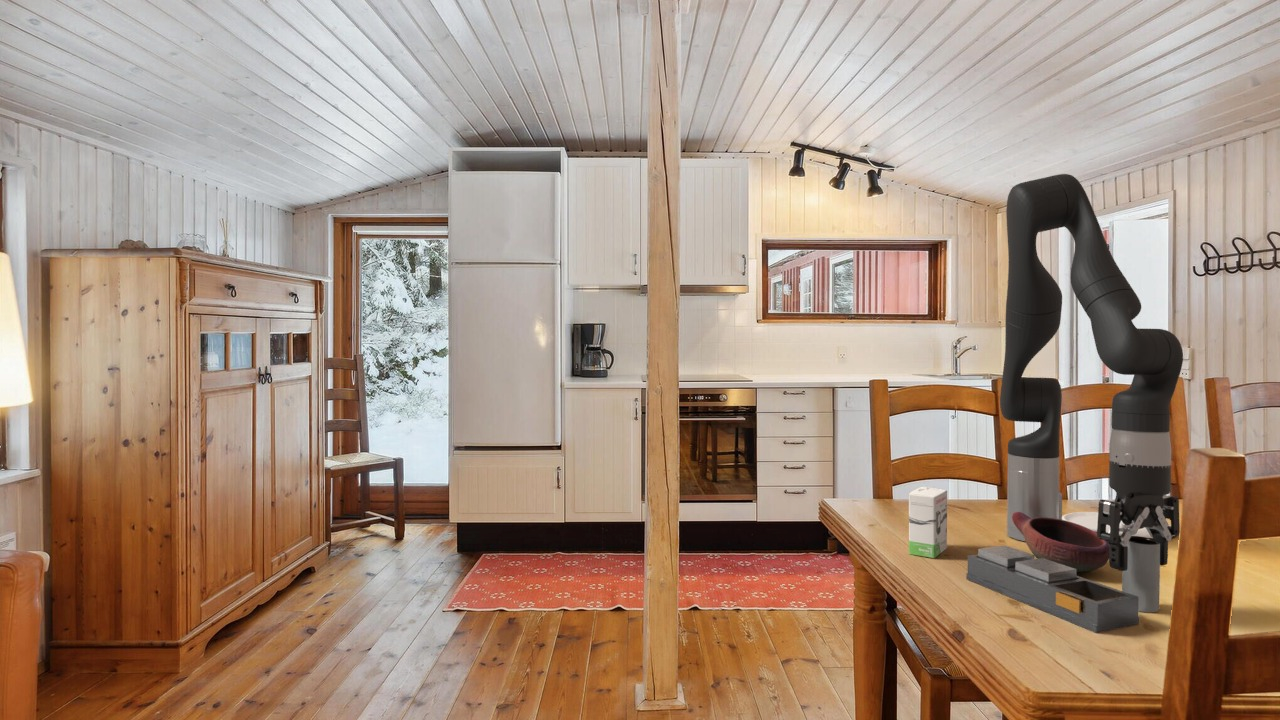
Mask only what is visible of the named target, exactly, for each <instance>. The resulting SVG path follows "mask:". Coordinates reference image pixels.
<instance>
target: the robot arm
mask: <svg viewBox="0 0 1280 720" xmlns="http://www.w3.org/2000/svg"><path fill="white" fill-rule="evenodd" d="M1005 213H1006V214H1005V215H1006V233H1007V248H1008V249H1007V251H1008V255H1007V256H1008V270H1007V271H1008V272H1007V273H1008V274H1007V291H1006V303H1005V351H1004V360H1003V361H1004V362H1003V371H1002V378H1001V386H1000V394H999V395H1000V396H999V397H1000V398H999V402H1000V403H999V407H1000V408H999V409H1000V413H1001V416H1002V417H1003V418H1004V419H1005V420H1007V421H1012V422H1019V423H1021V422H1023V423H1024V422H1025V423H1041V425H1040V427H1039V428H1037V429H1036V430H1034V431H1033V432H1030V433H1029V434H1025V435H1021V436H1018V437H1014V438H1011V439H1010V440H1008V442H1007V489H1006V490H1007V492H1006V493H1007V498H1006V499H1007V501H1006V502H1007V503H1006V504H1007V505H1006V510H1007V511H1006V534H1007V536H1008V537H1010V538H1012V539H1014V540H1019V541H1022V542H1026V541H1025V538H1024V536H1023V534H1022V533H1021V532H1020V531H1019V529H1018V528H1017V527H1016V526H1015V524H1014V523H1013V520H1012V515H1013V513H1015V512H1021V513H1024V514H1025V515H1027V516H1028V517H1030V518H1031V519H1032V518H1037V517H1047V518H1056V519H1061V520H1062V516H1063V494H1062V492H1060V431H1061V430H1060V428H1061V415H1062V414H1061V413H1062V401H1063V397H1062V394H1063V393H1062V386H1061V384H1060V382H1059V381H1058V379H1056V378H1054V377H1029V376H1028V377H1022V376H1023V375H1024V371H1025V370H1026V368H1027V366H1029V364H1030V362H1031V361H1032V359H1034V358H1035V356H1036V355H1038V353H1040V352H1041V350H1043V348H1045V347H1046V345H1047V344H1048V343H1049V342H1050V341H1051V340H1052V339H1053V338H1054V337H1055V335H1056V334H1057V332H1058V330H1059V328H1060V326H1061V321H1062V320H1061V318H1062V311H1063V310H1062V307H1063V294H1062V290H1061V288H1060V286H1059V284H1058V283H1057V281H1056V280H1055V278H1053V276H1052V275H1051V273H1050V272H1049V271H1048V269H1046V268H1045V266H1044V265H1043V263H1042V262H1041V259H1040V258H1039V256H1038V252H1037V237H1038V234H1039V233H1042V232H1046V231H1051V230H1056V229H1057V230H1058V229H1060V228H1065V229H1066V230H1068V232H1069V233H1070V235H1071V236H1072V238H1073V241H1074V254H1073V258H1072V263H1071V270H1070V285H1071V287H1072V288H1071V289H1072V290H1073V294H1074V295H1075V297H1076V299H1077V300H1078V302H1079V303H1080V305H1081V308H1082V309H1083V310H1084V312H1085V314H1086V316H1087V317H1088V318H1089V320H1090V325H1091V330H1092V336H1093V339H1094V344H1095V347H1096V352H1097V354H1098V357H1099V359H1100V360H1101V362H1102V363H1103V364H1104V366H1106V368H1108V369H1109V370H1111V371H1112V372H1113V373H1116V374H1119V375H1124V376H1127V375H1128V376H1130V375H1131V376H1133V378H1132V382H1131V384H1130V386H1129V387H1128V388H1127V389H1125V390H1121V391H1119V392H1117V393H1115V394H1114V396H1113V397H1112V401H1111V432H1110V437H1109V447H1108V448H1109V449H1108V451H1109V459H1108V460H1109V461H1108V462H1109V464H1108V465H1109V466H1108V485H1109V488H1111V489H1112V490H1114V491H1115V498H1114V500H1108V499H1102V498H1101V499H1100V500H1099V501H1098V509H1097V512H1098V526H1097V538H1098V539H1101V540H1104V541H1107V542H1108V543H1109V560H1108V563H1109V566H1110V568H1111V569H1114V570H1117V571H1120V572H1122V571H1126V570H1127V568H1128V547H1127V546H1126V545H1127V543H1128V541H1129V539H1130V537H1131V536H1132V535H1135V534H1136V533H1137V531H1138V529H1142V528H1144V527H1145V528H1146V529H1147V531H1148V533H1149V534H1150V536H1151V537H1153V538H1151V539H1154V540H1157V541H1159V542H1160V566H1166V565H1168V559H1169V542H1171V540H1172V538H1173V537H1172V536H1173V535H1175V537H1177V536H1179V535H1180V533H1181V532H1180V531H1181V529H1180V526H1181V525H1180V501H1179V500H1180V499H1179V498H1178V497H1177V496H1171V495H1168V494H1170V493H1171V492H1172V444H1171V436H1170V418H1171V417H1170V414H1171V413H1170V403H1171V401H1172V399H1173V396H1174V394H1175V393H1174V392H1175V391H1176V388H1177V384H1178V380H1179V378H1180V374H1181V372H1182V367H1183V362H1184V351H1183V347H1182V344H1181V342H1180V340H1179V338H1178V337H1177V336H1176V335H1175V334H1174V333H1172V332H1171V331H1169V330H1166V329H1163V328H1137V327H1136V325H1135V323H1134V322H1133V320H1134V319H1136V317H1138V315H1139V314H1140V312H1141V310H1142V303H1141V300H1140V298H1139V297H1138V295H1137V294H1136V292H1135V290H1134V288H1133V287H1132V286H1131V284H1130V283H1129V281H1128V280H1127V278H1126V277H1125V275H1124V273H1123V272H1122V270H1121V269H1120V268H1119V265H1118V264H1117V262H1116V261H1115V258H1114V257H1113V254H1112V253H1111V251H1110V249H1109V246H1108V244H1107V243H1108V242H1107V241H1106V238H1105V236H1104V233H1103V231H1102V227H1101V225H1100V223H1099V221H1098V218H1097V216H1096V213H1095V211H1094V208H1093V206H1092V203H1091V202H1090V199H1089V196H1088V194H1087V193H1086V191H1085V189H1084V187H1083V185H1082V183H1081V182H1080V181H1079V179H1077V178H1076V177H1075V176H1074V175H1071V174H1069V173H1061V174H1054V175H1051V176H1050V175H1049V176H1046V177H1041V178H1037V179H1033V180H1027V181H1023V182H1020V183H1017V184H1015V185H1013V186H1012V188H1011V189H1010V190H1009V193H1008V195H1007V200H1006V212H1005ZM1121 520H1122V522H1123V523H1124V524H1125V525H1124V524H1120V522H1121ZM1167 520H1169V521H1170V524H1169V522H1168V521H1167ZM1106 525H1109V526H1110V530H1109V532H1108V533H1106ZM1169 525H1170V526H1169ZM1120 531H1121V532H1123V533H1122V535H1121V537H1119V532H1120Z"/></svg>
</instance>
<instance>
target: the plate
mask: <svg viewBox="0 0 1280 720" xmlns="http://www.w3.org/2000/svg"><path fill="white" fill-rule="evenodd" d="M1062 520H1065V521H1069V522H1072V523H1075V524H1079V525H1081V526H1084V527H1086V528H1088V529H1090V530H1092V531H1094V532H1096V533H1097V526H1098V511H1076V512H1070V513H1066V514H1064V515H1062ZM1120 524H1124V523H1123V522H1122V520H1121V522H1120ZM1124 525H1125V524H1124ZM1169 526H1171V524H1169ZM1109 530H1110V526H1109V525H1106V533H1108V532H1109ZM1122 533H1123V532H1121V531H1120V532H1119V537H1121V535H1122ZM1132 536H1140V537H1146V538H1153V537H1151V536H1150V534H1149V533H1148V531H1147V529H1146V528H1145V527H1144V528H1142V529H1138V531H1137V533H1136V534H1135V535H1132ZM1175 537H1176V536H1175V535H1173V536H1172V538H1175Z"/></svg>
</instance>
